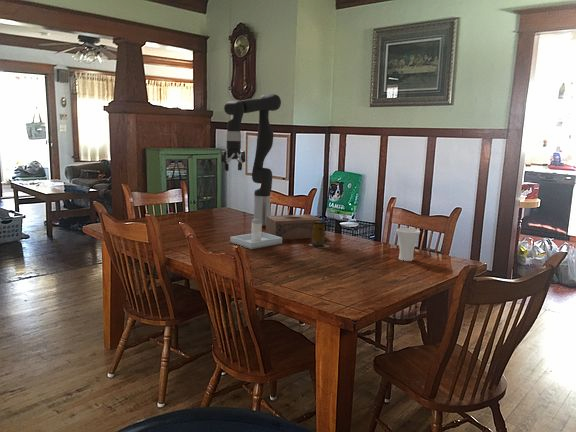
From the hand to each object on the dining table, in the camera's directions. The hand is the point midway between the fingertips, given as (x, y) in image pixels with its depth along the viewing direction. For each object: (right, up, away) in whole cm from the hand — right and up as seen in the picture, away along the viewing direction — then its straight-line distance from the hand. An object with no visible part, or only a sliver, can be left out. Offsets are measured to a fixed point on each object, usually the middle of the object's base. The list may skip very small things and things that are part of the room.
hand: (233, 170), depth 265 cm
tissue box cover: (+32, -35, 0) cm, 48 cm away
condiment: (+45, -39, -20) cm, 63 cm away
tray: (+14, -38, -19) cm, 45 cm away
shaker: (+13, -37, -19) cm, 44 cm away
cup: (+83, -44, -40) cm, 102 cm away
